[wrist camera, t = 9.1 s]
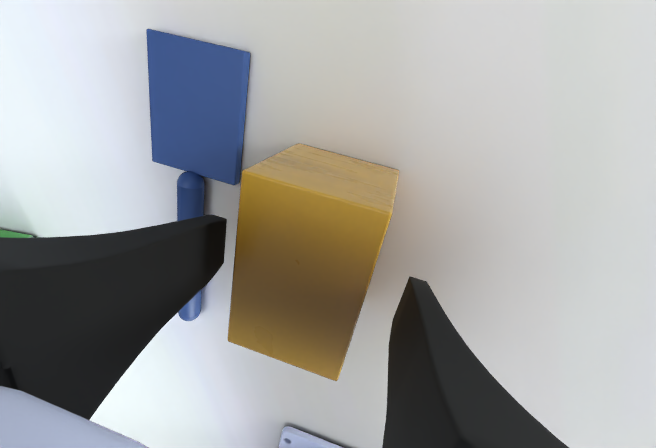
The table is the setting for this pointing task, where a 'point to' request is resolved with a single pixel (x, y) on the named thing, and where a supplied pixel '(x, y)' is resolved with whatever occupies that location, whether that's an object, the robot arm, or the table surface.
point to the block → (307, 254)
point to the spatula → (196, 118)
